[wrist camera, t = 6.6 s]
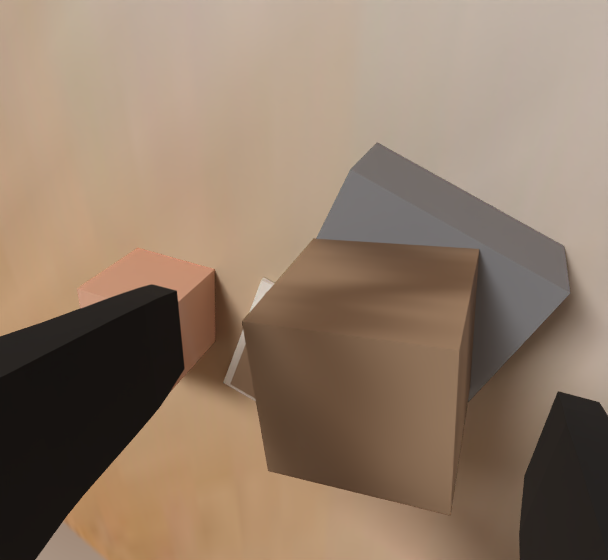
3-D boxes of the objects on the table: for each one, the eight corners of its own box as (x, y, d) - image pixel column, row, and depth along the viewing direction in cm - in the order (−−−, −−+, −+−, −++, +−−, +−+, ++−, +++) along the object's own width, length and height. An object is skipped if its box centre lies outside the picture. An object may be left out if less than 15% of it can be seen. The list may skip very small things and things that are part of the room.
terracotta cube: (215, 268, 23) (163, 315, 19) (216, 340, 25) (168, 393, 22) (138, 247, 24) (76, 288, 20) (145, 317, 26) (90, 365, 23)
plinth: (563, 242, 17) (570, 293, 14) (450, 373, 21) (438, 434, 18) (379, 140, 18) (350, 169, 15) (304, 287, 22) (269, 332, 19)
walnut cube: (479, 248, 15) (459, 350, 10) (470, 388, 17) (450, 515, 13) (313, 238, 16) (241, 321, 12) (325, 365, 19) (267, 470, 15)
